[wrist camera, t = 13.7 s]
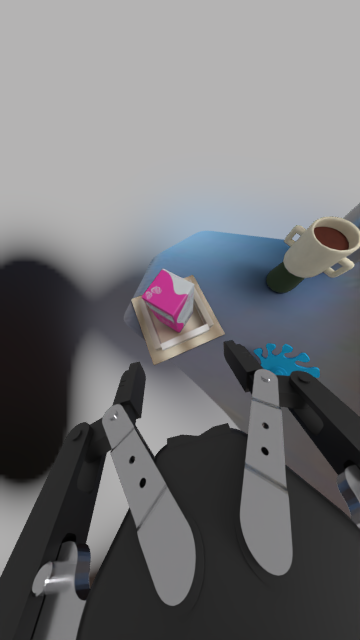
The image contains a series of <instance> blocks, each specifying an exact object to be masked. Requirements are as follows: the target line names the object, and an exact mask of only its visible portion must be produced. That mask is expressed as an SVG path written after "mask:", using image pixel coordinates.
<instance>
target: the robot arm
mask: <svg viewBox="0 0 360 640" xmlns="http://www.w3.org/2000/svg"><path fill="white" fill-rule="evenodd" d="M343 219H345V220H348V221H350V222H352V223H353V224H354V225H355V226H356V227H357V228H358V229H359V230H360V203H359V204H358V205H357V206H356V207H355V208H354V209H353V210H352V211H350V212H349V213H348V214H347V215H346V216H345V217H344V218H343ZM346 258H348V259H349V260H350V261H352V262H353V263H354V264H355V263H357V262H359V261H360V247H359V249H357V250H356V251H354V252H353V253H351V254H350V255H348V256H347V257H346ZM341 267H343V266H342V265H340V264H339V263H338V262H337V263H336V264H334V265H333V266H331V267H330V268H331V269H333V270H334V271H336V270H338V269H339V268H341ZM224 356H225V359H226V361H227V363H228V364H229V366H230V368H231V369H232V371H233V373H234V374H235V376H236V378H237V379H238V381H239V383H240V384H241V386H242V388H243V389H244V391H245V392H249V391H250V392H251V394H252V402H251V411H250V420H249V430H248V434H246V433H244V432H242V431H240V430H237V429H233V428H230V427H229V425H228V423H227V424H223V425H219V426H215V427H213V428H211V429H209V430H208V431H206V432H204V433H203V434H201V435H199V436H192V435H180V436H175V437H172V438H168V439H167V445H165V446H164V447H163V448H162V449H161V450H160V451H159V452H158V453H157V454H156V456H154V455H153V453H152V452H151V450H150V449H149V447H148V445H147V444H146V442H145V440H144V439H143V437H142V435H141V434H140V432H139V430H138V429H137V427H136V425H135V423H136V419H138V418H141V413H142V405H143V396H144V388H145V380H146V376H145V373H144V370H143V368H142V366H141V364H140V362H136V363H132V364H130V367H129V370H127V371H125V372H124V374H123V375H122V377H121V380H120V384H119V387H118V390H117V393H116V396H115V399H114V402H113V405H112V407H110V408H109V409H108V410H107V411H106V412H105V414H104V416H103V418H101V419H99V420H98V421H96V422H94V423H92V424H91V425H89V424H88V423H86V422H83V423H80V424H78V425H77V426H75V427H74V428H73V429H72V430H71V431H70V433H69V434H68V436H67V437H66V439H65V441H64V443H63V445H62V448H61V450H60V452H59V454H58V456H57V458H56V460H55V462H54V464H53V467H52V469H51V471H50V473H49V475H48V477H47V479H46V482H45V484H44V486H43V488H42V490H41V492H40V495H39V497H38V498H37V501H36V503H35V505H34V507H33V509H32V511H31V513H30V515H29V518H28V520H27V522H26V524H25V526H24V528H23V531H22V532H21V535H20V537H19V539H18V541H17V543H16V545H15V548H14V549H13V552H12V554H11V556H10V558H9V560H8V562H7V564H6V567H5V569H4V571H3V573H2V575H1V577H0V640H360V417H359V416H358V415H357V414H356V413H355V412H354V411H352V410H351V409H350V408H349V407H348V406H347V405H346V404H344V403H343V402H342V401H341V400H340V399H339V398H338V397H336V396H335V395H334V394H333V393H332V392H331V391H330V390H328V389H327V388H326V387H325V386H324V385H323V384H322V383H320V382H319V381H318V380H317V379H316V378H315V377H313V376H312V375H311V374H309V373H306V372H304V371H293V372H291V374H290V376H285V375H275V374H274V373H272V372H271V371H269V370H265V369H264V368H263V367H262V366H261V365H260V364H259V363H258V362H257V360H256V359H255V358H254V357H253V356H252V355H251V354H250V353H249V352H248V350H247V349H246V348H245V347H244V346H242V345H240V344H237V345H236V344H235V343H234V341H233V340H229V341H225V342H224ZM279 406H280V407H287V408H288V409H289V410H290V412H291V413H292V414H293V416H294V417H295V418H296V420H297V421H298V422H299V424H300V425H301V426H302V428H303V429H304V430H305V432H306V433H307V434H308V436H309V437H310V438H311V440H312V441H313V442H314V444H315V445H316V446H317V448H318V449H319V450H320V452H321V453H322V454H323V456H324V457H325V458H326V460H327V461H328V462H329V464H330V465H331V466H332V468H333V469H334V470H335V472H336V473H337V474H338V477H337V486H338V489H339V491H340V493H341V495H342V496H343V498H344V500H345V501H346V503H347V505H348V508H349V510H350V514H351V519H350V518H349V517H348V516H347V515H346V514H345V513H344V512H343V511H342V510H341V509H339V508H338V507H337V506H336V505H334V504H333V503H332V502H331V501H330V500H328V499H327V498H326V497H325V496H323V495H322V494H321V493H320V492H318V491H317V490H316V489H315V488H313V487H312V486H311V485H310V484H309V483H307V482H306V481H305V480H304V479H302V478H301V477H300V476H299V475H297V474H296V473H295V472H294V471H293V470H291V469H290V468H289V467H288V466H286V465H285V457H284V441H283V425H282V411H281V408H280V407H279ZM111 449H112V450H111ZM110 450H111V456H112V459H113V462H114V465H115V468H116V470H117V473H118V476H119V479H120V482H121V484H122V487H123V490H124V493H125V495H126V498H127V501H128V504H129V510H128V512H127V514H126V516H125V518H124V520H123V522H122V524H121V526H120V528H119V530H118V532H117V534H116V536H115V538H114V540H113V542H112V544H111V546H110V549H109V551H108V553H107V555H106V557H105V559H104V561H103V563H102V565H101V567H100V569H99V571H98V573H97V575H96V577H95V579H94V582H93V584H92V586H91V589H90V586H89V572H90V559H91V555H90V549H89V546H88V545H87V544H86V541H87V536H88V532H89V527H90V523H91V519H92V514H93V510H94V505H95V501H96V497H97V493H98V488H99V484H100V480H101V475H102V471H103V467H104V462H105V458H106V454H107V452H108V451H110Z"/></svg>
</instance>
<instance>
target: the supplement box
mask: <svg viewBox="0 0 360 640" xmlns="http://www.w3.org/2000/svg"><path fill="white" fill-rule="evenodd" d="M142 299H143V300H144V302H145V303H146V304H147V306H148V307H149V308H150V310H151V311H152V312H153V313H154V315H155V316H156V317H157V319H158V320H159V321H160V322H162V323H164V324H165V325H167V326H168V327H170V328H172V329H173V330H175V331H177V332H178V333H180V332H181V330H182V329H183V327H184V326H185V324H186V323H187V321H188V320H189V318H190V316H191V315H192V313H193V299H194V284H193V283H191V282H189V281H187V280H185V279H183V278H181V277H179V276H177V275H175V274H173V273H171V272H169V271H167V270H165V269H162V270H161V272H160V273H159V274H158V276H157V277H156V278H155V280H154V281H153V282H152V284H151V285H150V286H149V288H148V289H147V290H146V291H145V293H144V294H143V295H142Z"/></svg>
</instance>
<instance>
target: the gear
mask: <svg viewBox="0 0 360 640" xmlns="http://www.w3.org/2000/svg"><path fill="white" fill-rule="evenodd" d="M266 348H267V350H268V357H267V358H264V357H263V356H262V353H263V350H262V349H261V348H258V349H256V350H254V353H255V354H256V355H257V356H258V357H259V358H260V360H261V364H260V365H261V366H262V367H263V368H264V369H265V370H269V371H271V372H272V373H274V374H275V375H285V376H290V374H291V372H293V371H305V372H308V373H309V374H311V375H312V376H313V377H316V378H319V376H320V372H319V368H317V367H310V368H307V367H302V366H299V365H297V364H296V363H295V361H297V360H299V361H302V362H309V361H310V359H309V357H308V355H307V354H306V353H300V354H299V355H298V356H296V357H293V358H287V357H285V356H284V353H289V352H292V350H293V348H292V347H291V346H289V345H287V344H285V345H284V346H283V347H282V352H281V353H280V354H278V355H273V354H272V351H273V350H274V349H275V348H276V345H275V344H271V343H268V344H267V345H266Z"/></svg>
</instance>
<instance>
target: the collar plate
mask: <svg viewBox="0 0 360 640" xmlns="http://www.w3.org/2000/svg"><path fill="white" fill-rule="evenodd" d="M184 279H185V280H187V281H189V282H191V283H193V284H194V299H193V313H192V315H191V316H190V318H189V320H188V321H187V323H186V324H185V326H184V327H183V329H182V330H181V332H180V333H178V332H177V331H175V330H173V329H172V328H170V327H168V326H167V325H165V324H164V323H162V322H160V321H159V320H158V319H157V317H156V316H155V315H154V313H153V312H152V311H151V310H150V308H149V307H148V306H147V304H146V303H145V302H144V300H143V299H142V295H141V296H138V297H136V298H133V299H131V300H132V303H133V306H134V309H135V312H136V315H137V318H138V321H139V324H140V326H141V329H142V332H143V335H144V338H145V341H146V344H147V347H148V350H149V353H150V356H151V358H152V361H153V364H154V365H156V364H158V363H161V362H163V361H165V360H168V359H170V358H172V357H174V356H177V355H179V354H181V353H183V352H186V351H188V350H190V349H192V348H195V347H197V346H199V345H201V344H204V343H206V342H208V341H211V340H213V339H215V338H217V337H220V336H222V335H224V332H223V330H222V328H221V326H220V324H219V322H218V321H217V319H216V317H215V315H214V313H213V311H212V309H211V308H210V306H209V304H208V302H207V300H206V298H205V296H204V295H203V293H202V291H201V289H200V287H199V285H198V283H197V282H196V280H195V278H194V276H193V275H191V276H189V277H186V278H184Z"/></svg>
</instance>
